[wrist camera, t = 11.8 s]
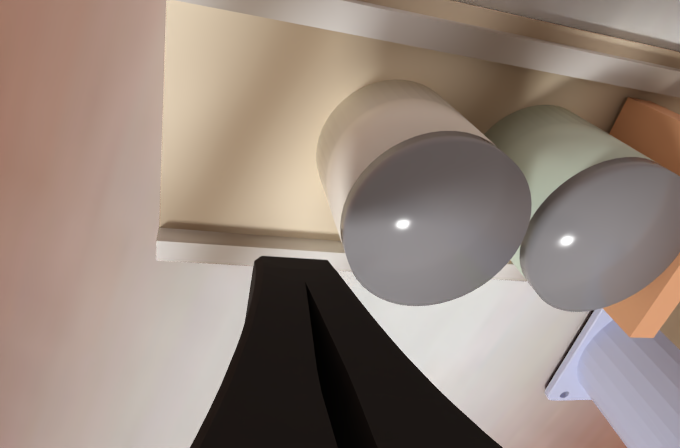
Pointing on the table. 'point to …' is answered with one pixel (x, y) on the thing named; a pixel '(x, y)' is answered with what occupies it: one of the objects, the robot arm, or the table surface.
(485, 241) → the cream jar
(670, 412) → the robot arm
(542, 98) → the lane
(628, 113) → the pusher
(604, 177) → the green jar
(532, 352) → the table surface
